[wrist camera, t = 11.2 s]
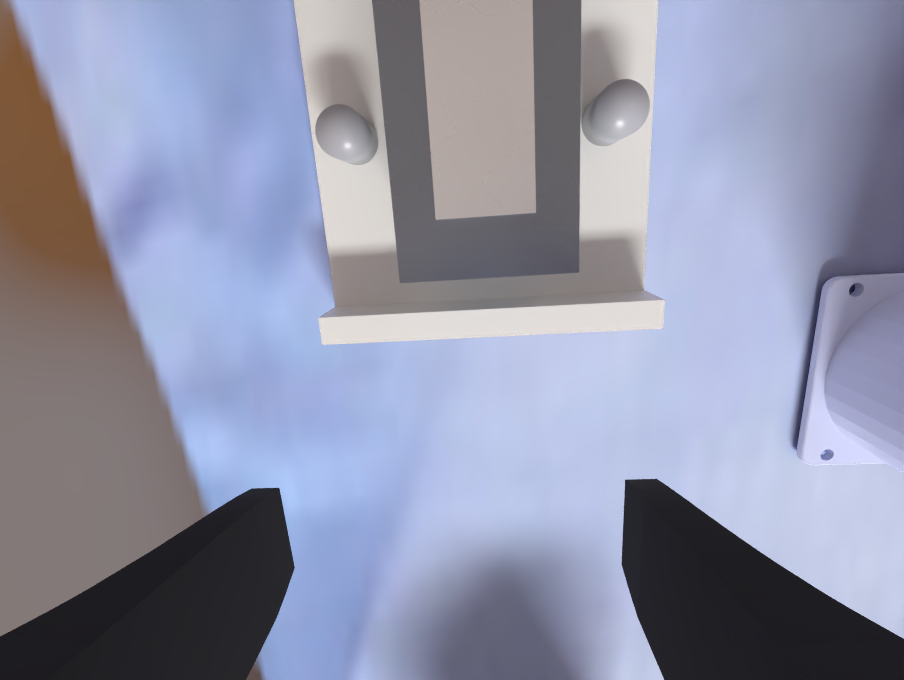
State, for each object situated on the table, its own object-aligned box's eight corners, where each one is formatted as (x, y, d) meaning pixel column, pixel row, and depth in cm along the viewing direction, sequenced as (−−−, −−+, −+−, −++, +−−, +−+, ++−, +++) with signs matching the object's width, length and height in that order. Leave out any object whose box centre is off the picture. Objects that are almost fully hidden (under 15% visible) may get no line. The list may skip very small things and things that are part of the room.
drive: (541, -30, 14) (584, -199, 9) (544, 252, 17) (580, 273, 11) (403, -15, 15) (354, -167, 9) (426, 260, 17) (398, 284, 11)
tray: (652, -113, 15) (695, -193, 12) (633, 310, 18) (663, 328, 15) (293, -71, 15) (250, -136, 13) (345, 325, 19) (322, 344, 16)
